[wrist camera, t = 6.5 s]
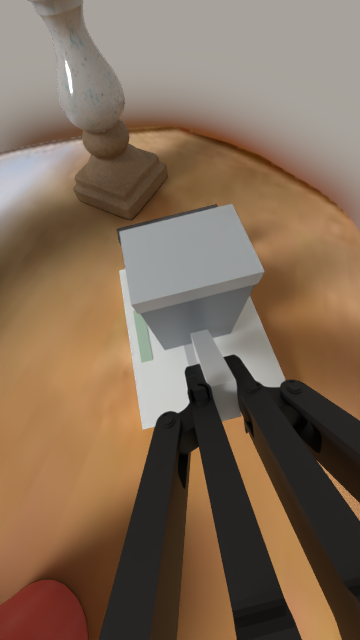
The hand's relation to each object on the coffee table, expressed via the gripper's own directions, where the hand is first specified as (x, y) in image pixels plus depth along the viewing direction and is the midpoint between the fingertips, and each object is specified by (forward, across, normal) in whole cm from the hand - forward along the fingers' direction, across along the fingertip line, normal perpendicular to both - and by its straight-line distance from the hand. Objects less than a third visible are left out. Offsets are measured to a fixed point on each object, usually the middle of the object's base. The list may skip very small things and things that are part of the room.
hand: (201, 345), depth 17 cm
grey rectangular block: (+5, 0, 0) cm, 5 cm away
